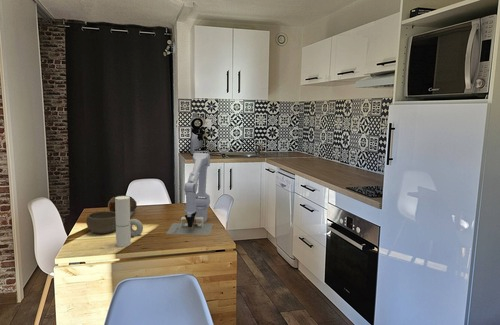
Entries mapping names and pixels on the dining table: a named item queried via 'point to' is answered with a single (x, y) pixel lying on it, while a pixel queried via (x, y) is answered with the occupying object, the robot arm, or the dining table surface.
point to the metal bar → (174, 230)
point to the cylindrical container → (122, 221)
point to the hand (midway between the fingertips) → (190, 225)
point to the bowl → (101, 222)
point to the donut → (137, 224)
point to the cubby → (197, 230)
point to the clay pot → (112, 205)
